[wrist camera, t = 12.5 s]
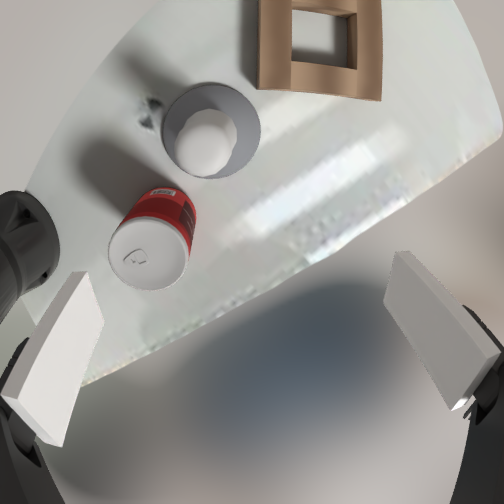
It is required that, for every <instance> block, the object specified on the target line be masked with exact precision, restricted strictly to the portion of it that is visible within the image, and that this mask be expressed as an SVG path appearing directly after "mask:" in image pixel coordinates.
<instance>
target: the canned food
mask: <svg viewBox="0 0 504 504" xmlns="http://www.w3.org/2000/svg"><path fill="white" fill-rule="evenodd" d="M195 224H196V211H195V208H194V205H193V203H192V202H191V200H190V199H189V198H188V197H187V196H186V195H185V194H184V193H182V192H181V191H179V190H177V189H173V188H167V187H162V188H156V189H153V190H150V191H149V192H147V193H145V194H144V195H143V196H142V197H141V198H140V199H139V201H138V202H137V203H136V204H135V205H134V207H133V208H132V209H131V210H130V212H129V213H128V214H127V216H126V217H125V218H124V219H123V221H122V222H121V223H120V225H119V226H118V227H117V229H116V230H115V232H114V233H113V235H112V237H111V240H110V242H109V246H108V259H109V263H110V265H111V267H112V270H113V271H114V273H115V274H116V275H117V277H119V278H120V279H121V280H122V281H123V282H124V283H126V284H127V285H129V286H131V287H133V288H135V289H139V290H143V291H158V290H163V289H166V288H168V287H170V286H172V285H173V284H175V283H176V282H177V281H178V280H179V279H180V278H181V277H182V275H183V274H184V272H185V269H186V267H187V264H188V261H189V256H190V251H191V245H192V240H193V234H194V229H195Z"/></svg>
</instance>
